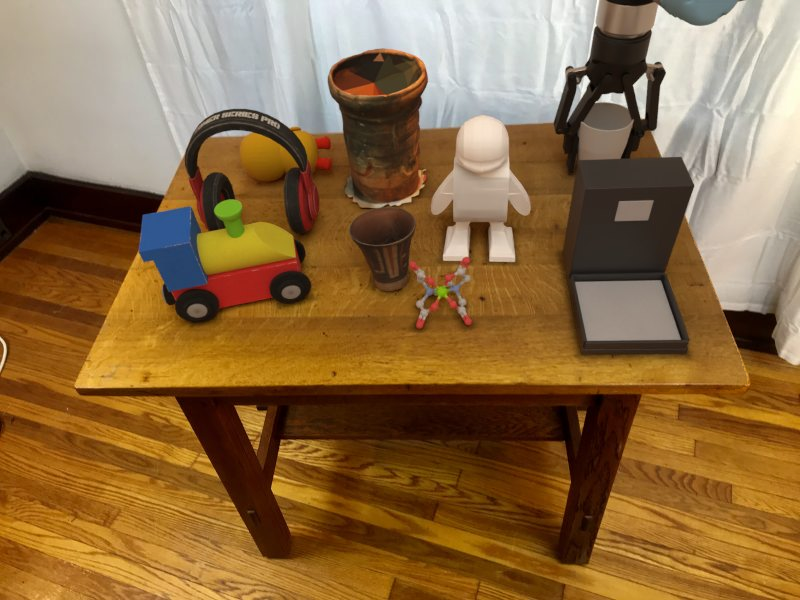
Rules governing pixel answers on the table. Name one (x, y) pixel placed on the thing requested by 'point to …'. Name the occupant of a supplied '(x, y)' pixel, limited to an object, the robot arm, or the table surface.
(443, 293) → the molecular model
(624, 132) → the cup
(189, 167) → the headphones
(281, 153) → the toy
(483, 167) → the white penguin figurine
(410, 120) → the vessel
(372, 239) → the cup
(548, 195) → the table surface
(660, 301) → the open gift box
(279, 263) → the toy train
